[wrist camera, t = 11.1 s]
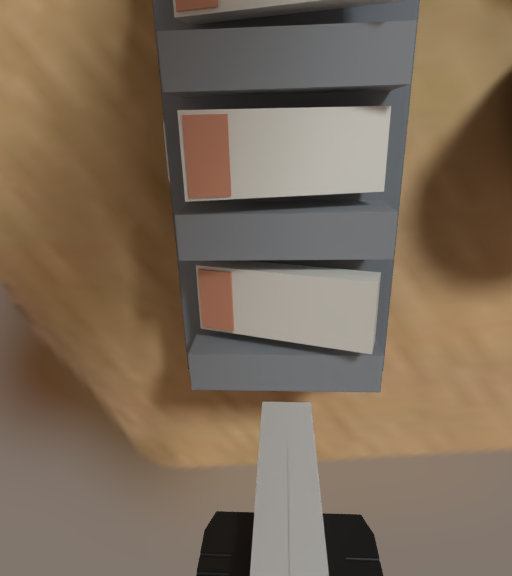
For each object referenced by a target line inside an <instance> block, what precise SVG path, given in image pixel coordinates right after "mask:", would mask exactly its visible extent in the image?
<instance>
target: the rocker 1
mask: <svg viewBox="0 0 512 576" xmlns="http://www.w3.org/2000/svg"><path fill="white" fill-rule="evenodd" d="M402 1H404V0H173V7H174V18H176V19H178V20H181V21H183V22H185V23H187V24H189V25H194V24H203V23H212V22H221V21H230V20H239V19H248V18H257V17H266V16H275V15H284V14H293V13H302V12H311V11H320V10H329V9H338V8H347V7H356V6H365V5H375V4H384V3H393V2H402Z"/></svg>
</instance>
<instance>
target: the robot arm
mask: <svg viewBox="0 0 512 576" xmlns="http://www.w3.org/2000/svg"><path fill="white" fill-rule="evenodd" d="M197 576H383V573H382V568H381V564H380V562H379V555H378V550H377V546H376V542H375V537H374V534H373V532H372V531H371V529H370V528H369V526H368V525H367V523H366V522H365V520H364V519H363V517H362V516H361V515H353V514H323V513H322V504H321V495H320V485H319V475H318V466H317V456H316V447H315V437H314V428H313V418H312V409H311V402H262V413H261V427H260V441H259V455H258V470H257V483H256V497H255V511H254V513H249V512H218V511H217V512H216V513H215V515H214V516H213V518H212V519H211V521H210V523H209V524H208V526H207V528H206V529H205V532H204V537H203V542H202V547H201V554H200V558H199V563H198V568H197Z"/></svg>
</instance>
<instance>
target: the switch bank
mask: <svg viewBox="0 0 512 576" xmlns="http://www.w3.org/2000/svg"><path fill="white" fill-rule="evenodd" d="M152 1H153V11H154V21H155V32H156V42H157V52H158V63H159V73H160V83H161V93H162V104H163V114H164V122H163V131H164V141H165V151H166V162H167V172H168V181H170V186H171V196H172V207H173V217H174V227H175V238H176V248H177V258H178V268H179V279H180V289H181V299H182V310H183V320H184V330H185V341H186V351H187V361H188V369H190V380H191V390H239V391H315V392H380V390H381V380H382V371H383V366H384V356H385V346H386V336H387V326H388V316H389V306H390V296H391V285H392V275H393V265H394V255H395V245H396V235H397V225H398V215H399V205H400V194H401V184H402V174H403V164H404V154H405V144H406V134H407V124H408V114H409V103H410V93H411V83H412V73H413V63H414V53H415V43H416V33H417V23H418V12H419V2H420V0H404V1H402V2H393V3H384V4H375V5H365V6H356V7H347V8H338V9H329V10H320V11H311V12H302V13H293V14H284V15H275V16H266V17H257V18H248V19H239V20H230V21H221V22H212V23H203V24H194V25H189V24H187V23H185V22H183V21H181V20H178V19H176V18H174V7H173V0H152ZM356 106H391V115H390V127H389V139H388V151H387V163H386V175H385V186H384V192H366V193H347V194H327V195H307V196H287V197H268V198H248V199H228V200H208V201H188V202H185V194H184V183H183V171H182V160H181V148H180V136H179V125H178V113H177V110H212V109H260V108H308V107H356ZM222 260H245V261H257V262H268V263H280V264H291V265H302V266H314V267H325V268H337V269H348V270H359V271H371V272H381V278H380V289H379V300H378V312H377V323H376V335H375V343H374V347H373V352H372V354H365V353H359V352H352V351H346V350H339V349H333V348H326V347H319V346H313V345H306V344H300V343H293V342H286V341H280V340H273V339H267V338H260V337H254V336H247V335H240V334H234V333H227V332H221V331H214V330H207V329H201V325H200V312H199V300H198V288H197V275H196V265H197V264H198V263H200V262H202V261H222Z"/></svg>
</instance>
